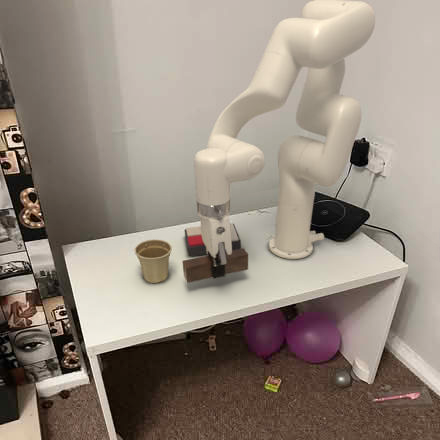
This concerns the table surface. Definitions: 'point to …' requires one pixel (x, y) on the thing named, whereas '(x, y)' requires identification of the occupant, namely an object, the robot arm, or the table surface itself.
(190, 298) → the table surface
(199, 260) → the brown wooden block
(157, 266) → the flower pot
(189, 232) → the calculator
